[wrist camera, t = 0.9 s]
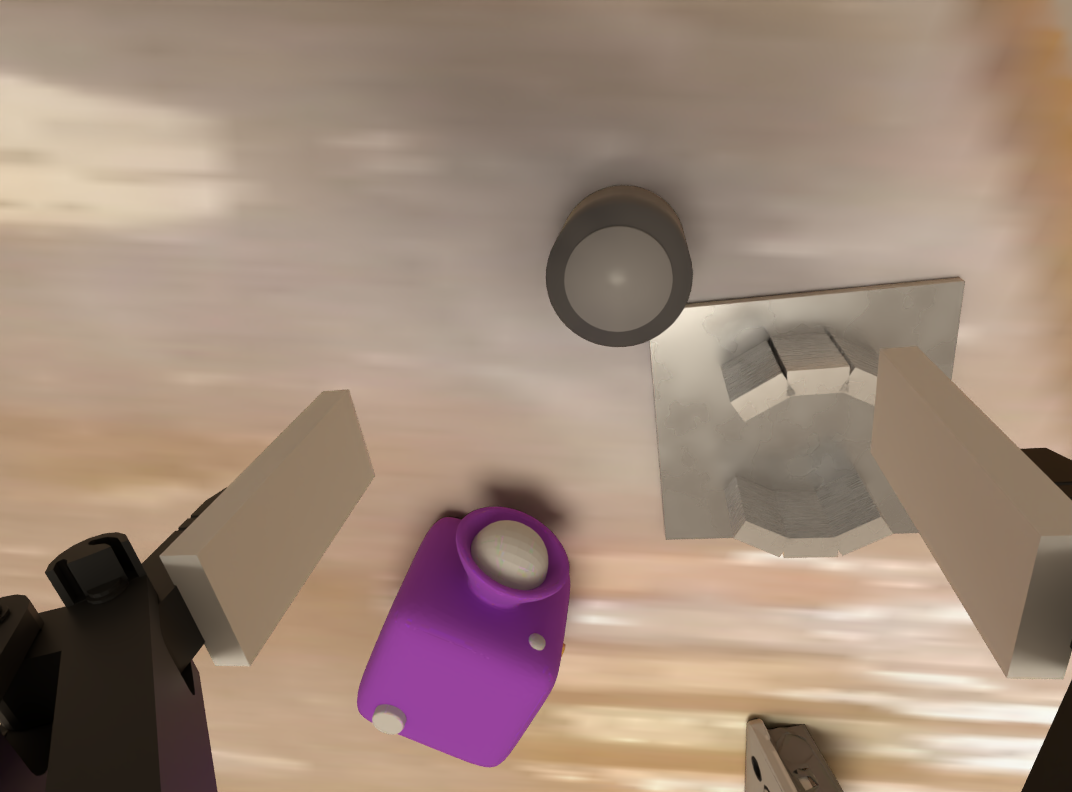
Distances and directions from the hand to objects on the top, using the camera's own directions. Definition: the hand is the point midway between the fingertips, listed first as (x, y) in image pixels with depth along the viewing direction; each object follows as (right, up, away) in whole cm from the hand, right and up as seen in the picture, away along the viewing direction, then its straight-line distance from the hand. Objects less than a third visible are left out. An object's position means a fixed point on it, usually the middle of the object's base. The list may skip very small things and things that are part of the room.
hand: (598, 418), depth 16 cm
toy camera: (-4, -10, +25) cm, 27 cm away
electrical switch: (+16, -25, +29) cm, 41 cm away
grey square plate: (+12, -1, +17) cm, 21 cm away
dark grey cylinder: (+3, +8, +15) cm, 17 cm away
